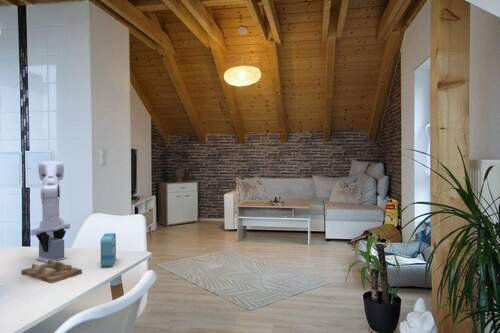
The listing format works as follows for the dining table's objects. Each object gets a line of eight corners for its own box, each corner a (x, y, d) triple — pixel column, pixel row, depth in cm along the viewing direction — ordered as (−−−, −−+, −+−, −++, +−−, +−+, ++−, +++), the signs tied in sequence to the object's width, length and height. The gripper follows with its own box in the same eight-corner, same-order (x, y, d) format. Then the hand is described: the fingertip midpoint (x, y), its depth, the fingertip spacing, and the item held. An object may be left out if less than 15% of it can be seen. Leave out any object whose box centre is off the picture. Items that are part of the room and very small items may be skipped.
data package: (112, 267, 143) (112, 238, 143) (100, 268, 142) (100, 239, 142) (115, 258, 155) (115, 232, 154) (105, 259, 153) (104, 232, 153)
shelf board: (21, 273, 134) (21, 264, 134) (51, 265, 145) (51, 257, 145) (51, 283, 125) (51, 273, 125) (81, 273, 135) (81, 264, 135)
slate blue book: (39, 256, 135) (38, 238, 135) (49, 254, 139) (49, 236, 138) (54, 260, 130) (54, 241, 130) (64, 257, 134) (64, 239, 134)
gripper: (37, 219, 126) (38, 256, 126) (74, 213, 138) (75, 247, 139) (26, 217, 129) (27, 253, 130) (64, 212, 142) (64, 245, 142)
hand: (51, 250), depth 134 cm, fingers closed on slate blue book, 4 cm apart
